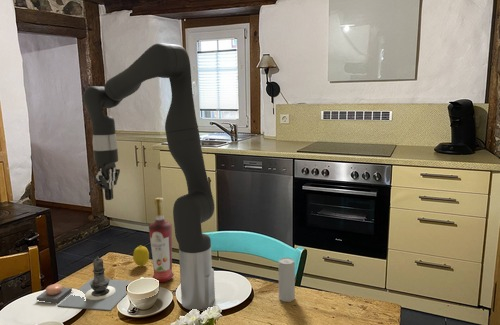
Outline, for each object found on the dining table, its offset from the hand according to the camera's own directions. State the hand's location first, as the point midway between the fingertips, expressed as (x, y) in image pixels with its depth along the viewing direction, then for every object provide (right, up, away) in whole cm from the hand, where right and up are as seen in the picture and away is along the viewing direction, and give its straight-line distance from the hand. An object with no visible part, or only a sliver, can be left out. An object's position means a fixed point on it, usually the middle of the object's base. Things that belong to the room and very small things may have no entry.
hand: (109, 199), depth 133 cm
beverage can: (+58, -29, -14) cm, 66 cm away
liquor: (+18, -27, 0) cm, 33 cm away
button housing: (-13, -29, -10) cm, 34 cm away
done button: (-13, -29, -10) cm, 33 cm away
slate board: (0, -29, -9) cm, 30 cm away
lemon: (+8, -26, +11) cm, 29 cm away
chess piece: (0, -29, -9) cm, 30 cm away
